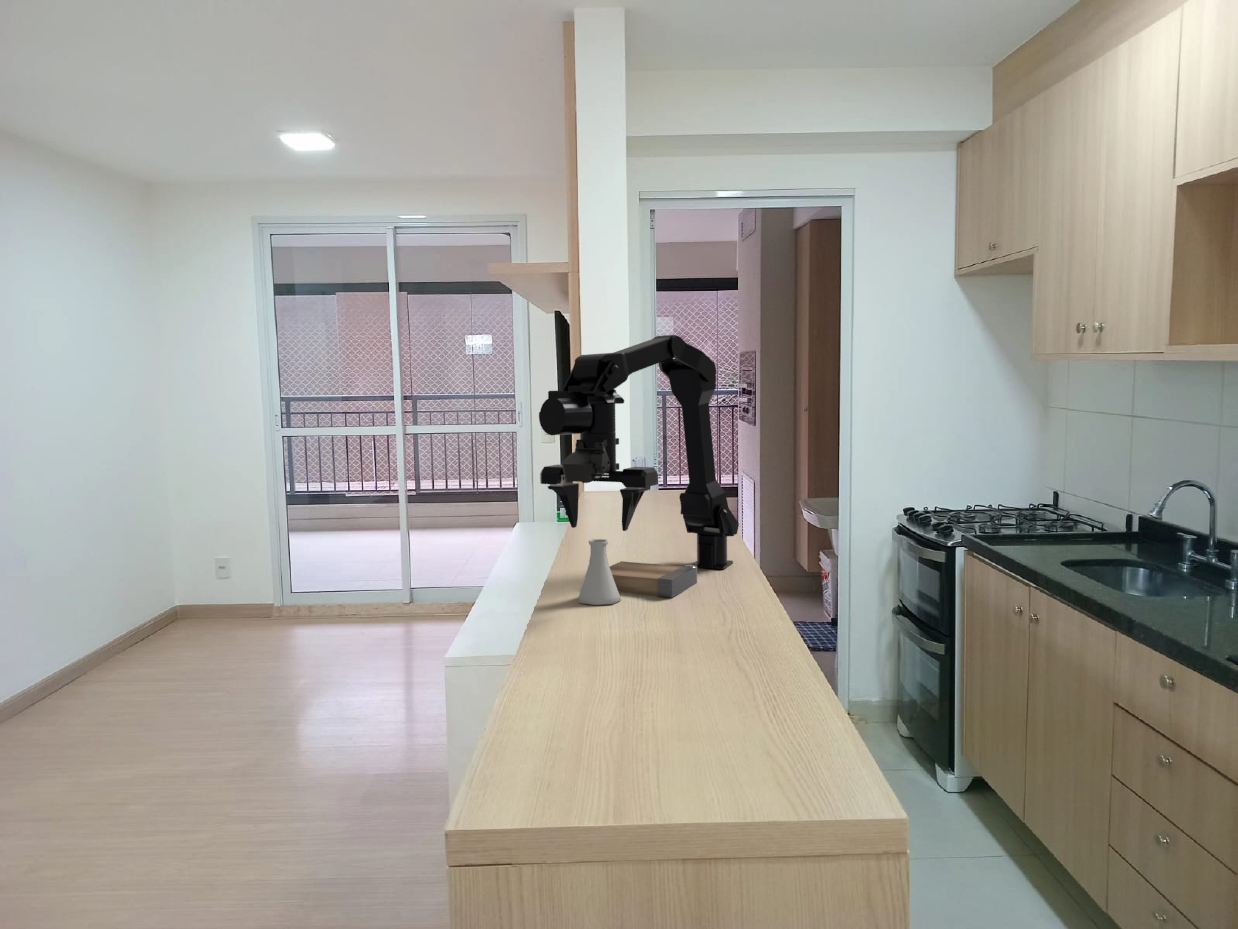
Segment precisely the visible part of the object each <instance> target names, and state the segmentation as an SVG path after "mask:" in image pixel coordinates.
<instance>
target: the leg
mask: <svg viewBox="0 0 1238 929" xmlns="http://www.w3.org/2000/svg"><path fill="white" fill-rule="evenodd" d="M681 566H682V567H680V568H678V569H676V570H674V571H672V572H670V573H668V574H666V575H664V576H662V577H660V578H658V596H657V597H661V598H662V597H663V598H672V599H673V598H674V597H676V596H678V595H679V594H682V593H683V592H685V591H686V590H688V589H690V588H692V587H693V586H695V585H697V583H698V567H697V566H696V565H691V564H685V565H681Z"/></svg>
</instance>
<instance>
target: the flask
mask: <svg viewBox="0 0 1238 929" xmlns="http://www.w3.org/2000/svg"><path fill="white" fill-rule="evenodd" d="M608 544H609V541H608V539H605V538H592V539H590V540H588V545H589V547H590V555H589V562H588V566H587V569H586V573H585V575H584V579H583V582H582V585H581V588H580V591H579V594H578V596H577V600H578V603H579V604H584V605H593V606H599V605H614V604H616V603H617V602H620V601H622V598H621V596H620V592H618V590H617V587H616V584H615V582H614V579H613V576H612V573H611V570H610V565H609V558H608V554H607V552H608V551H607V545H608Z"/></svg>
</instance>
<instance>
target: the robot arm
mask: <svg viewBox="0 0 1238 929" xmlns="http://www.w3.org/2000/svg"><path fill="white" fill-rule="evenodd" d="M657 364H658V367H659V371H660V372H661V373H663V375H665V377H667V379H668V381H669V385H670V390H671V393H672V395H673V396H674V397H675V399H676V400H677V402H678V403H679V405H680V406H681V412H682V421H683V422H682V423H683V433H684V443H685V444H684V445H685V453H686V462H687V463H686V465H687V471H688V485H687V486H686V488H685V491H684V492H681V493H680V494H679V502H680V513H679V514H680V515H682V517H683V521H684V525H685V531H686V533H687V534H696V561H694V562H693V563H691V564H690V565H696V566H697V568H700V569H715V570H724V569H726V568H728V567H729V566H731V565H733V564H734V561H733V560H728V537H735V535H737V534H738V531H739V530H738V529H739V526H740V525H739V521H738V520H737V518H736V517H735V515H734V514H733V513H732V511H731V509H730V508H729V505H728V503H729V502H728V499H727V494H726V492H725V490H724V489H723V488H722V486H721V484H720V482H718V480H717V477H716V466H715V455H714V445H713V434H712V424H711V414H710V412H711V411H710V402H711V400H712V397H713V395H714V393H715V391H716V388H717V368H716V363H715V361H714V360H712V359H711V358H710V357H709V356H708V355H707V354H705V352H704V351H702V350H701V349H699V348H696V347H695V346H693V345H691V344H689V343H687V342H686V341H685V340H684V339H683V338H682V337H680V336H678V335H676V334H667V335H656V336H655V337H653V338H652V339H651V338H650V339H649V340H645V341H642V342H640V343H638V344H634V345H632V346H628V347H626V348H623V349H620V350H616V351H615V352H607V353H606V352H604V353H591V354H581V355H579V356H577V357H576V358H575V360H574V364H573V367H572V369H571V370H570V373H569V374H568V376H567V378H566V381H565V383H564V384H563V387H562V388H561V390H549V391H548V392H547V399H546V400H544V402H543V403H542V405H541V407H540V411H539V412H538V419H539V420H538V421H539V425H540V427H541V428H542V430H543V431H544V433H546V434H547V435H548V436H562V435H563V436H564V435H565V436H566V435H578V434H579V439H576V440H575V449H574V451H573V452H571V453H570V454H569V455H568V456H567V457H566V458H564V459H563V460H562V462H561V464H553V465H552V464H551V465H546V466H544V467H543V468H542V470H541V471H540V474H539V478H540V483H539V484H540V485H547V489H548V490H550V491H551V490H552V491H553V492H554V493H555V494H556V495H557V496H558V498H559V499H560V501H561V503H562V506H563V508H564V511H565V514H566V516H567V518H568V521H569V524H570V527H571V528H574V529H575V528H577V526H578V518H579V496H580V495H579V493H580V492H579V489H580V488H579V486H580V483H582V484H588V483H592V482H604V483H605V482H607V483H621V484H622V485H623V486H624V487H625V488H620V489H619V492H620V495H621V498H622V506H621V507H622V508H621V509H622V510H621V529H622V531H623V532H626V531H628V529H629V527H630V524H631V522H632V519H633V518H634V514H635V512H636V509H637V506H638V505H639V502H640V501H641V499H642V497H643V495H644V493H645V492H647V491H650V490H651V487H653V486H657V485H659V473H658V470H656V468H655V467H654V466H632V467H631V466H630V467H628V468H623V469H622V470H620V463H618V462H617V451H616V450H617V445H620V438H617V437H616V405H617V404H618V405H619V404H624V403H625V399H624V398H623V396H621V395H620V394H619V393H618V391H617V390H616V389H617V388H618V387H619V386H621V385H622V384H624V383H625V382H627V380H628V378H629V376H631V375H632V374H634V373H636V372H639V371H642V370H644V369H646V368H649V367H651V366H654V365H657ZM577 482H578V483H577ZM579 482H580V483H579Z"/></svg>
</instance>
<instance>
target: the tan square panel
mask: <svg viewBox="0 0 1238 929" xmlns="http://www.w3.org/2000/svg"><path fill="white" fill-rule="evenodd" d="M682 566H683V565H671V564H660V563H659V564H658V563H647V562H646V563H645V562H634V561H619V562H617V563H615V564H612V565H609V567H610V570H611V573H612V576H613V579H614V582H615V584H616V587H617V590H618V592H619V593H629V594H635V595H636V594H637V595H644V596H654V597H659V596H658V578H660V577H662V576H664V575H666V574H668V573H670V572H672V571H674V570H676V569H678V568H680V567H682Z"/></svg>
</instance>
